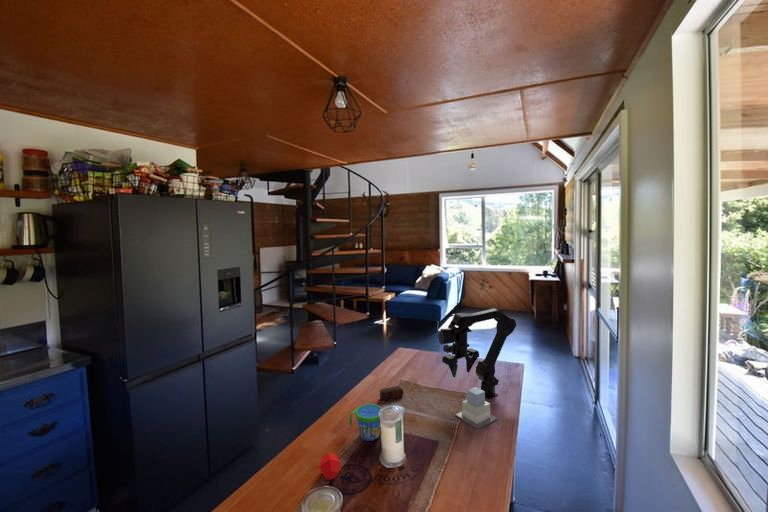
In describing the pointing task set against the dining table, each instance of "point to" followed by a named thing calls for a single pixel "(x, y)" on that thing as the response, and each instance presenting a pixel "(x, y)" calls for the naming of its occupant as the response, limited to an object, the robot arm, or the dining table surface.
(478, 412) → the pale block on slab
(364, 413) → the snack cup
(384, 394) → the brick
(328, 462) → the red rounded lump
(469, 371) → the robot arm
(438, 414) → the dining table surface
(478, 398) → the top block
